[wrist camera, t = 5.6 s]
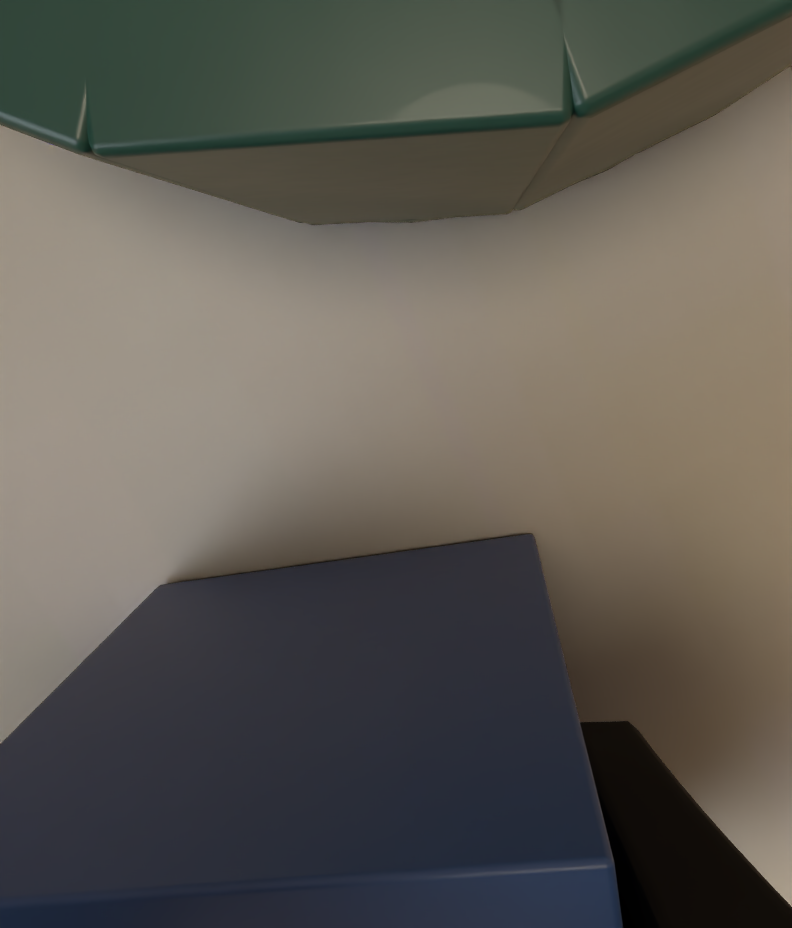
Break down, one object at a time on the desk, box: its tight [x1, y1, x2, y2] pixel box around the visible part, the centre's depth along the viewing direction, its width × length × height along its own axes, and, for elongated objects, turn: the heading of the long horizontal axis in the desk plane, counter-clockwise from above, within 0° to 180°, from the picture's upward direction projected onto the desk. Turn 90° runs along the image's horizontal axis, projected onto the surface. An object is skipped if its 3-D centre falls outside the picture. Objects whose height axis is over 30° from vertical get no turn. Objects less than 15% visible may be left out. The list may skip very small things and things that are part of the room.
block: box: [0, 534, 623, 928], centre depth 7 cm, size 5×5×5 cm
